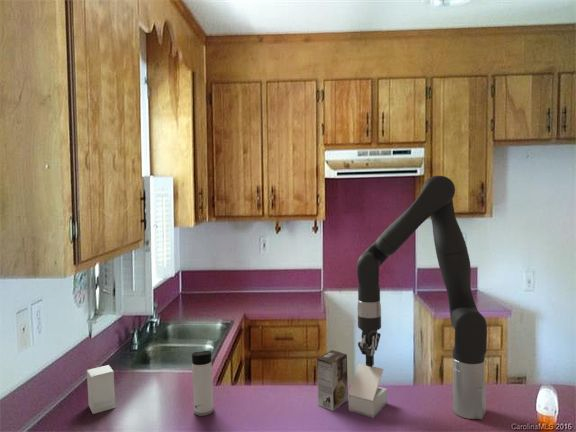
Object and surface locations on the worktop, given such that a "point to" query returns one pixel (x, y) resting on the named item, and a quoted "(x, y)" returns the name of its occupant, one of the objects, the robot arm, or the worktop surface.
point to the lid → (365, 382)
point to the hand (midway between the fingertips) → (369, 365)
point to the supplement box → (101, 389)
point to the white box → (368, 403)
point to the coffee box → (332, 380)
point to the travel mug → (202, 383)
